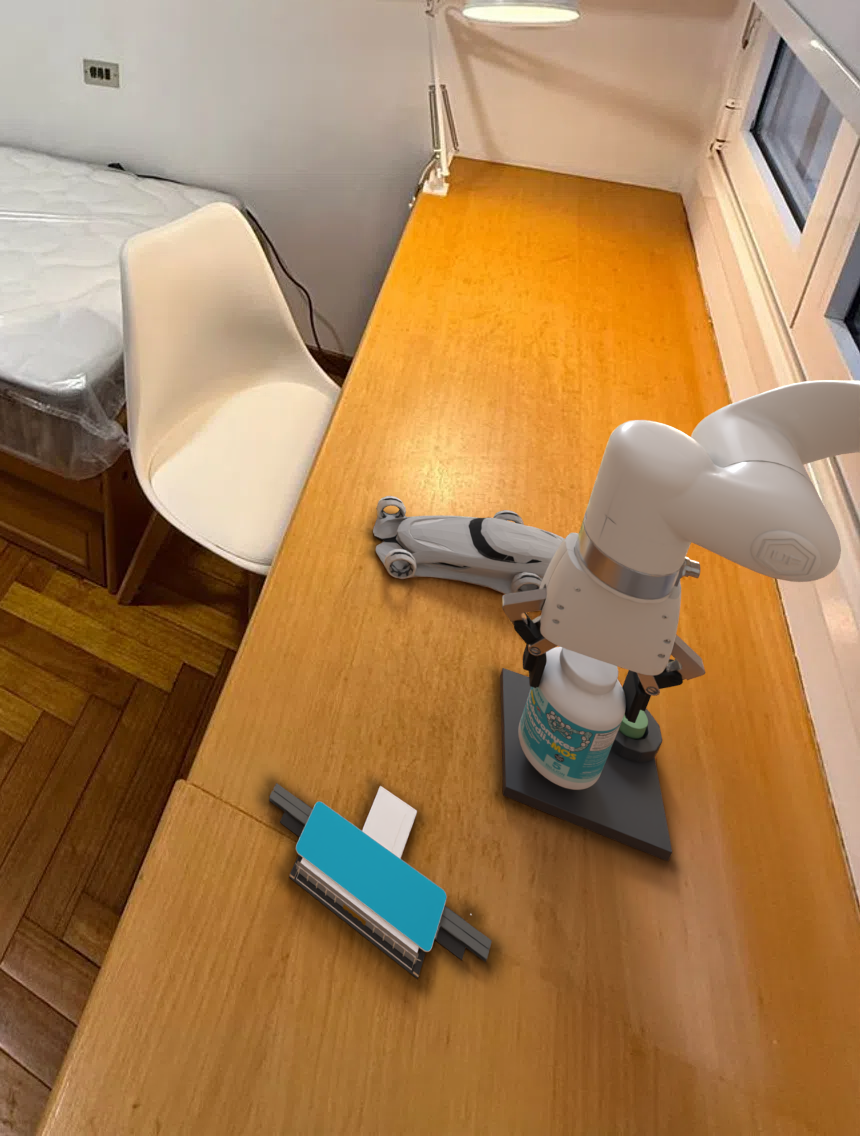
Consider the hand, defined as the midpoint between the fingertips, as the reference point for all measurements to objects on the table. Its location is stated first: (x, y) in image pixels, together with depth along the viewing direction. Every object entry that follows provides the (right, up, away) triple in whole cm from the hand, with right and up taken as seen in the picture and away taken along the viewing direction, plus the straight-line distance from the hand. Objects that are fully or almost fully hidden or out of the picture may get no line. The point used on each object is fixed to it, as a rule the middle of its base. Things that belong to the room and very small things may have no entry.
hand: (579, 689), depth 79 cm
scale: (+3, -11, +5) cm, 12 cm away
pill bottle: (0, -9, +4) cm, 9 cm away
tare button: (+8, -8, +6) cm, 13 cm away
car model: (+2, -2, +28) cm, 28 cm away
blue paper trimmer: (-20, -14, -3) cm, 25 cm away
